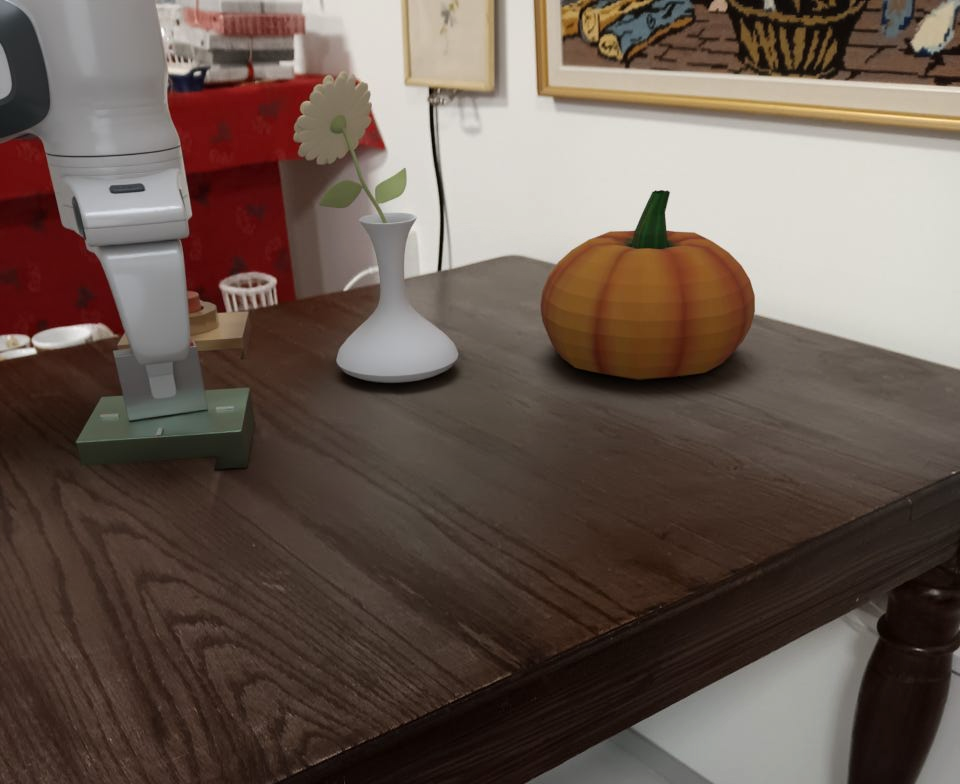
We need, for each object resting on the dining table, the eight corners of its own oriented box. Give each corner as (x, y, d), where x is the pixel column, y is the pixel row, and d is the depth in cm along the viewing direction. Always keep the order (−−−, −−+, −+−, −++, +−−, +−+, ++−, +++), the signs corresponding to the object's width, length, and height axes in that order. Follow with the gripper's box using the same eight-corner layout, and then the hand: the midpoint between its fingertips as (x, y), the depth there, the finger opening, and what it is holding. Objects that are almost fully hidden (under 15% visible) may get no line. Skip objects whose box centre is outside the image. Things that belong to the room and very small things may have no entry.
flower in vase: (430, 349, 100) (415, 63, 86) (479, 381, 91) (470, 68, 78) (306, 370, 95) (269, 71, 82) (344, 405, 87) (310, 77, 73)
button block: (121, 367, 97) (112, 326, 95) (138, 338, 106) (129, 300, 104) (245, 359, 99) (239, 318, 96) (251, 331, 107) (246, 293, 105)
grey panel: (129, 421, 76) (113, 353, 73) (127, 414, 77) (112, 347, 74) (208, 409, 78) (196, 342, 75) (205, 403, 79) (193, 337, 76)
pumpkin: (503, 374, 93) (500, 201, 85) (599, 324, 106) (605, 171, 98) (696, 410, 83) (714, 220, 75) (775, 350, 97) (798, 183, 89)
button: (162, 318, 99) (159, 300, 98) (167, 309, 102) (164, 292, 101) (199, 316, 99) (196, 298, 98) (203, 307, 102) (200, 290, 101)
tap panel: (84, 480, 74) (74, 440, 72) (109, 431, 83) (100, 394, 81) (247, 468, 75) (240, 428, 74) (255, 421, 84) (249, 384, 82)
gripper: (69, 179, 76) (109, 358, 84) (83, 222, 60) (131, 439, 67) (153, 173, 78) (185, 348, 85) (189, 214, 62) (224, 426, 69)
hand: (162, 389), depth 76 cm, fingers closed on grey panel, 2 cm apart
